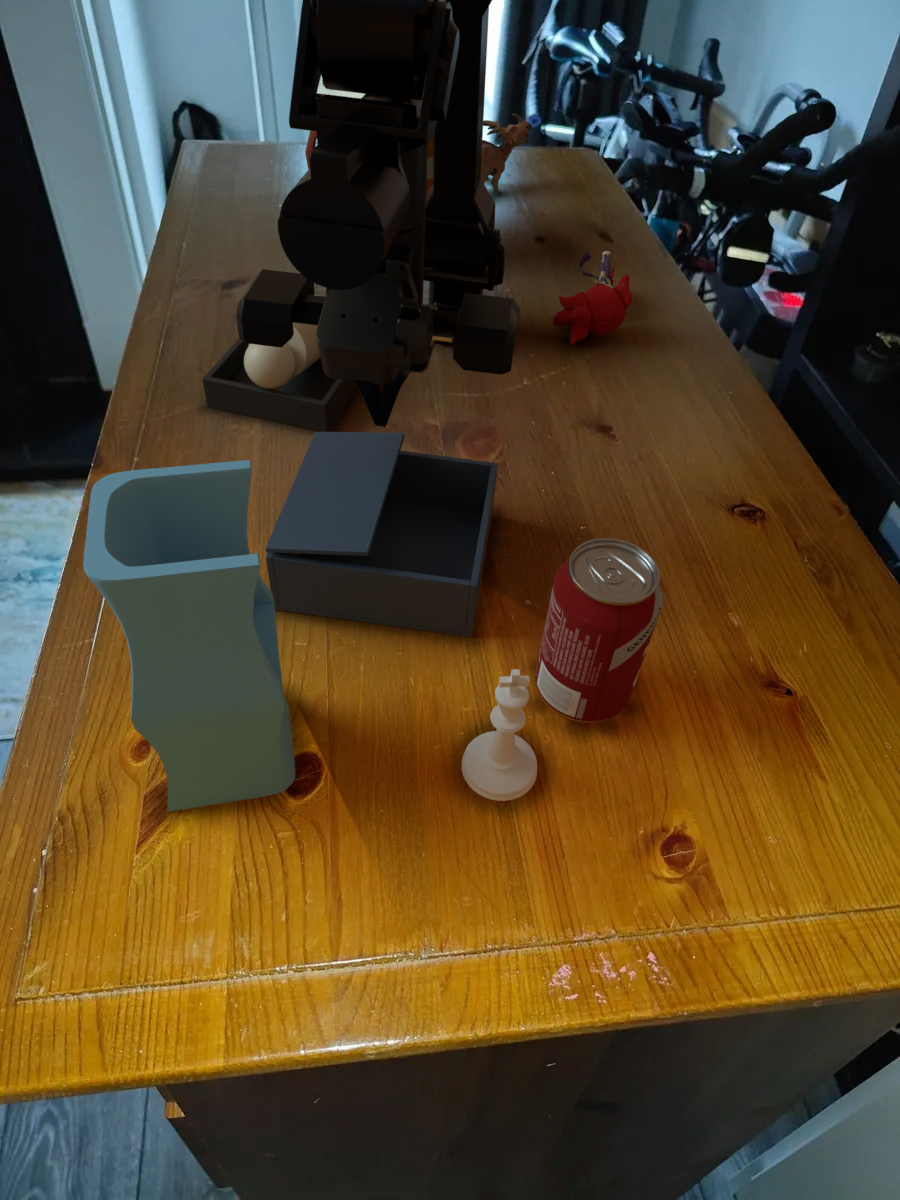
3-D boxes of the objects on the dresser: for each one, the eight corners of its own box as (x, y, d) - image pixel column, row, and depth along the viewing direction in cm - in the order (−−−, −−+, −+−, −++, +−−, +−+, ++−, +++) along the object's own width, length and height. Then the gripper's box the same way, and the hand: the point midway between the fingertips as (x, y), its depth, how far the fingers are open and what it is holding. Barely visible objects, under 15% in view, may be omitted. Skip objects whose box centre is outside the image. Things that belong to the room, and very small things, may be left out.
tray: (277, 325, 91) (274, 298, 89) (384, 347, 89) (384, 320, 87) (207, 406, 80) (201, 378, 78) (327, 433, 78) (325, 405, 76)
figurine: (635, 287, 99) (632, 354, 89) (563, 293, 101) (552, 359, 91) (634, 233, 95) (631, 298, 85) (559, 240, 97) (547, 304, 87)
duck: (288, 289, 84) (226, 322, 73) (343, 299, 83) (288, 335, 72) (288, 362, 88) (230, 404, 78) (340, 373, 87) (288, 417, 77)
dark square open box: (471, 637, 62) (477, 586, 58) (273, 609, 63) (265, 557, 59) (492, 514, 72) (498, 462, 68) (319, 491, 73) (315, 439, 69)
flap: (368, 556, 58) (367, 551, 57) (266, 552, 59) (264, 548, 59) (404, 436, 67) (404, 432, 67) (316, 435, 68) (315, 431, 68)
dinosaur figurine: (494, 172, 123) (500, 102, 117) (526, 184, 121) (534, 113, 114) (432, 198, 116) (434, 124, 109) (464, 211, 114) (468, 137, 107)
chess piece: (458, 737, 56) (468, 640, 49) (531, 734, 57) (551, 637, 49) (465, 803, 53) (477, 710, 46) (542, 799, 53) (566, 706, 46)
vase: (297, 791, 53) (261, 565, 38) (167, 812, 51) (78, 586, 37) (287, 691, 58) (252, 458, 43) (168, 708, 57) (91, 472, 42)
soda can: (567, 743, 56) (599, 624, 48) (515, 670, 60) (537, 549, 51) (648, 707, 59) (693, 588, 50) (593, 640, 63) (626, 519, 54)
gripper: (189, 255, 48) (228, 473, 59) (517, 293, 47) (492, 508, 58) (249, 180, 55) (273, 386, 67) (532, 211, 54) (507, 416, 66)
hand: (381, 423), depth 64 cm, fingers closed
